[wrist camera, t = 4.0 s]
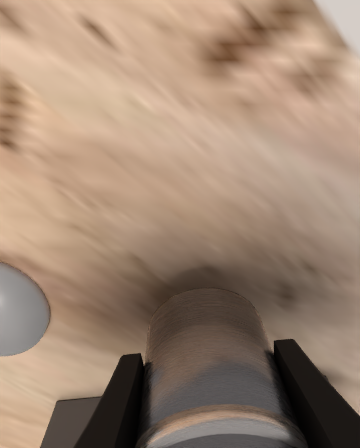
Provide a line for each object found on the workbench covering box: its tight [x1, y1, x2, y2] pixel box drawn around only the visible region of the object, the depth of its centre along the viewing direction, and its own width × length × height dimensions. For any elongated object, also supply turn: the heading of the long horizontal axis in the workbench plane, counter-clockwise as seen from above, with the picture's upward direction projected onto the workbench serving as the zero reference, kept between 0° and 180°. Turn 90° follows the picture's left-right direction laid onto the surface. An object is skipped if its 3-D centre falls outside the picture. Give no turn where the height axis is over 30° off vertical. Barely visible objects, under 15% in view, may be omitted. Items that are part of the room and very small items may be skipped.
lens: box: [135, 288, 309, 448], centre depth 9 cm, size 4×4×6 cm
